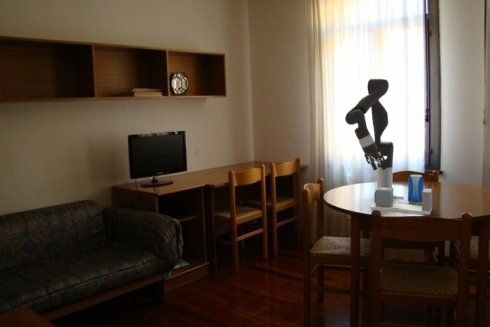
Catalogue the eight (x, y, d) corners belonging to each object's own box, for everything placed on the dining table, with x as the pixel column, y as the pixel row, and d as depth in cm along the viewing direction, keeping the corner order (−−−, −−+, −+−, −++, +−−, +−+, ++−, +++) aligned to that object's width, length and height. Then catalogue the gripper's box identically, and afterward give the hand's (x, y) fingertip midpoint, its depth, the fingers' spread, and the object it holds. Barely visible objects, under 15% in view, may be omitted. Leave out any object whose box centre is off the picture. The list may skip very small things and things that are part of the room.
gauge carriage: (377, 202, 257) (377, 186, 256) (404, 204, 251) (404, 188, 249) (373, 206, 249) (373, 189, 248) (401, 208, 242) (401, 191, 241)
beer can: (407, 200, 268) (408, 174, 265) (423, 201, 265) (423, 174, 262) (407, 204, 260) (408, 176, 258) (423, 204, 257) (423, 177, 255)
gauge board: (375, 204, 260) (375, 185, 258) (431, 209, 246) (432, 188, 245) (370, 209, 249) (371, 189, 248) (429, 214, 236) (430, 192, 234)
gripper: (380, 139, 245) (392, 166, 247) (365, 141, 259) (378, 166, 260) (369, 146, 243) (382, 172, 245) (355, 147, 257) (367, 173, 258)
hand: (380, 169), depth 253 cm, fingers open, 8 cm apart
